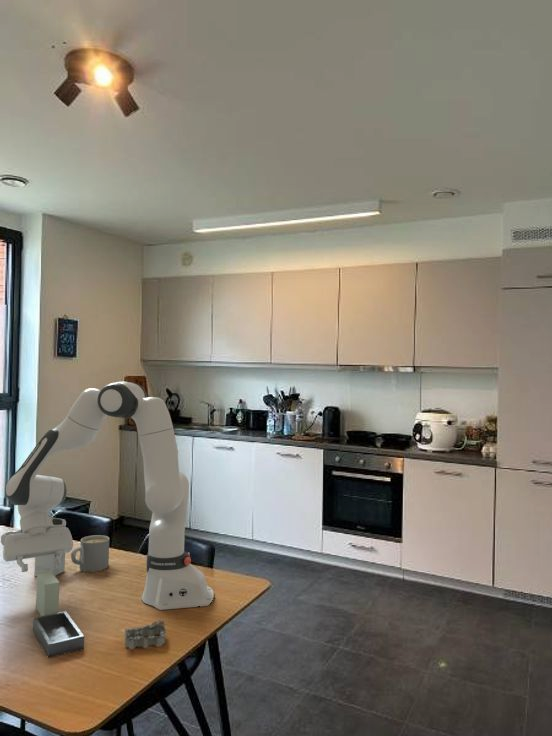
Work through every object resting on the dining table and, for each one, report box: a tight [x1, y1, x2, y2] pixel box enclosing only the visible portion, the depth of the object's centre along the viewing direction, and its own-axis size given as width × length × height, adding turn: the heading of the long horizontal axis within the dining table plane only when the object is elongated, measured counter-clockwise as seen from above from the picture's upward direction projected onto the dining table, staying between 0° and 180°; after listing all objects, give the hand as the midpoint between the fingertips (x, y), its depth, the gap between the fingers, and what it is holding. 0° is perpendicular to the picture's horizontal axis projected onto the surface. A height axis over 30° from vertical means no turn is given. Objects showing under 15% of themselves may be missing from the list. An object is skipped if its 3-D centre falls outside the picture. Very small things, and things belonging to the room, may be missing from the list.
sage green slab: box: [35, 572, 60, 616], centre depth 162 cm, size 4×10×10 cm, turn 35°
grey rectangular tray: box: [32, 610, 85, 659], centre depth 146 cm, size 9×18×3 cm, turn 35°
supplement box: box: [34, 553, 66, 577], centre depth 193 cm, size 7×7×13 cm
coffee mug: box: [70, 534, 110, 573], centre depth 200 cm, size 13×10×10 cm
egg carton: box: [124, 620, 167, 650], centre depth 146 cm, size 11×8×4 cm
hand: (41, 568), depth 169 cm, fingers open, 8 cm apart
